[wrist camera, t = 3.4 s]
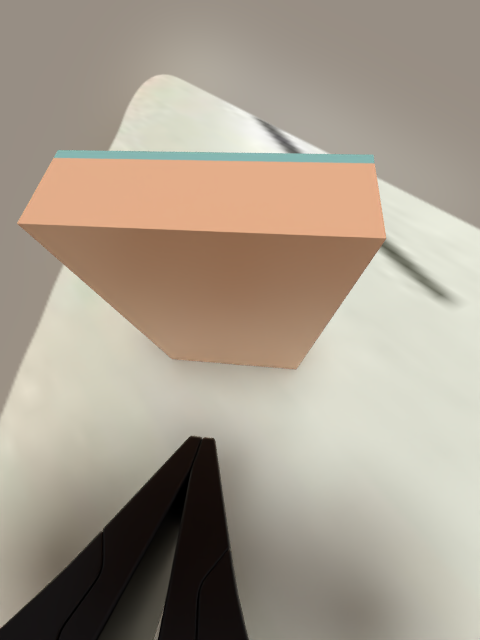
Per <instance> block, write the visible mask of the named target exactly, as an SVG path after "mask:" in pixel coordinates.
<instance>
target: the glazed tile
mask: <svg viewBox="0 0 480 640" xmlns="http://www.w3.org/2000/svg"><path fill="white" fill-rule="evenodd" d="M17 224H18V225H19V226H21V227H22V228H23V229H24V230H25V231H26V232H27V233H29V234H30V235H31V236H32V237H33V238H34V239H35V240H37V241H38V242H39V243H40V244H41V245H42V246H43V247H45V248H46V249H47V250H48V251H49V252H50V253H51V254H53V255H54V256H55V257H56V258H57V259H58V260H59V261H61V262H62V263H63V264H64V265H65V266H66V267H67V268H69V269H70V270H71V271H72V272H73V273H74V274H75V275H77V276H78V277H79V278H80V279H81V280H82V281H83V282H85V283H86V284H87V285H88V286H89V287H90V288H91V289H93V290H94V291H95V292H96V293H97V294H98V295H99V296H101V297H102V298H103V299H104V300H105V301H106V302H107V303H109V304H110V305H111V306H112V307H113V308H114V309H115V310H117V311H118V312H119V313H120V314H121V315H122V316H123V317H125V318H126V319H127V320H128V321H129V322H130V323H131V324H133V325H134V326H135V327H136V328H137V329H138V330H139V331H141V332H142V333H143V334H144V335H145V336H146V337H147V338H149V339H150V340H151V341H152V342H153V343H154V344H155V345H157V346H158V347H159V348H160V349H161V350H162V351H163V352H165V353H166V354H167V355H168V356H169V357H170V358H171V359H177V360H189V361H201V362H213V363H225V364H237V365H249V366H261V367H273V368H285V369H297V368H298V366H299V365H300V363H301V362H302V360H303V359H304V357H305V356H306V354H307V353H308V352H309V350H310V349H311V347H312V346H313V344H314V343H315V341H316V340H317V338H318V337H319V336H320V334H321V333H322V331H323V330H324V328H325V327H326V325H327V324H328V322H329V321H330V320H331V318H332V317H333V315H334V314H335V312H336V311H337V309H338V308H339V306H340V305H341V304H342V302H343V301H344V299H345V298H346V296H347V295H348V293H349V292H350V290H351V289H352V288H353V286H354V285H355V283H356V282H357V280H358V279H359V277H360V276H361V274H362V273H363V272H364V270H365V269H366V267H367V266H368V264H369V263H370V261H371V260H372V258H373V257H374V256H375V254H376V253H377V251H378V250H379V248H380V247H381V245H382V244H383V242H384V241H385V240H386V233H385V227H384V221H383V214H382V208H381V202H380V195H379V189H378V182H377V176H376V170H375V163H374V157H373V155H349V154H348V155H347V154H282V153H214V152H146V151H77V150H76V151H75V150H73V151H72V150H71V151H70V150H58V151H57V153H56V155H55V157H54V158H53V160H52V162H51V164H50V165H49V167H48V169H47V171H46V173H45V174H44V176H43V178H42V180H41V182H40V183H39V185H38V187H37V189H36V191H35V192H34V194H33V196H32V198H31V200H30V202H29V203H28V205H27V207H26V209H25V210H24V212H23V214H22V216H21V217H20V219H19V221H18V223H17Z"/></svg>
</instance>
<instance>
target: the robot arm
mask: <svg viewBox="0 0 480 640" xmlns="http://www.w3.org/2000/svg"><path fill="white" fill-rule="evenodd" d="M230 549H231V547H230V540H229V533H228V526H227V519H226V512H225V505H224V498H223V491H222V484H221V477H220V470H219V463H218V456H217V449H216V442H215V439H214V438H206V437H204V438H203V439H202V437H197V436H190V437H189V438H188V439H187V440H186V441H185V442H184V443H183V444H182V445H181V446H180V448H179V449H178V450H177V451H176V452H175V453H174V454H173V455H172V456H171V457H170V458H169V459H168V460H167V461H166V462H165V464H164V465H163V466H162V467H161V468H160V469H159V470H158V471H157V472H156V473H155V474H154V475H153V476H152V477H151V478H150V480H149V481H148V482H147V483H146V484H145V485H144V486H143V487H142V488H141V489H140V490H139V491H138V492H137V493H136V494H135V496H134V497H133V498H132V499H131V500H130V501H129V502H128V503H127V504H126V505H125V506H124V507H123V508H122V509H121V510H120V512H119V513H118V514H117V515H116V516H115V517H114V518H113V519H112V520H111V521H110V522H109V523H108V524H107V525H106V526H105V528H104V529H103V532H102V531H101V532H100V533H99V534H98V535H97V536H96V537H95V538H94V539H93V540H92V541H91V542H90V543H89V544H88V545H87V546H86V548H85V549H84V550H83V551H82V552H81V553H80V554H79V555H78V556H77V557H76V558H75V559H74V560H73V561H72V562H71V563H70V564H69V565H68V566H67V567H66V568H65V569H64V570H63V571H62V572H61V573H60V574H59V575H57V576H56V577H55V578H54V579H53V580H52V581H51V582H50V583H49V584H48V585H47V586H46V587H45V588H44V589H43V590H42V591H41V592H39V593H38V594H37V595H36V596H35V597H34V598H33V599H32V600H31V601H30V602H29V603H28V604H26V605H25V606H24V607H23V608H22V609H21V610H20V611H19V612H18V613H17V614H16V615H15V616H13V617H12V618H11V619H10V620H9V621H8V622H7V623H6V624H5V625H4V626H3V627H1V628H0V640H153V639H154V636H155V633H156V629H157V626H158V623H159V620H160V616H161V613H162V610H163V607H164V611H163V616H162V621H161V627H160V632H159V637H158V640H249V638H248V634H247V630H246V626H245V622H244V618H243V613H242V609H241V604H240V600H239V596H238V590H237V584H236V579H235V573H234V567H233V560H232V553H231V550H230ZM165 600H166V601H165ZM164 603H165V606H164Z"/></svg>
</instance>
